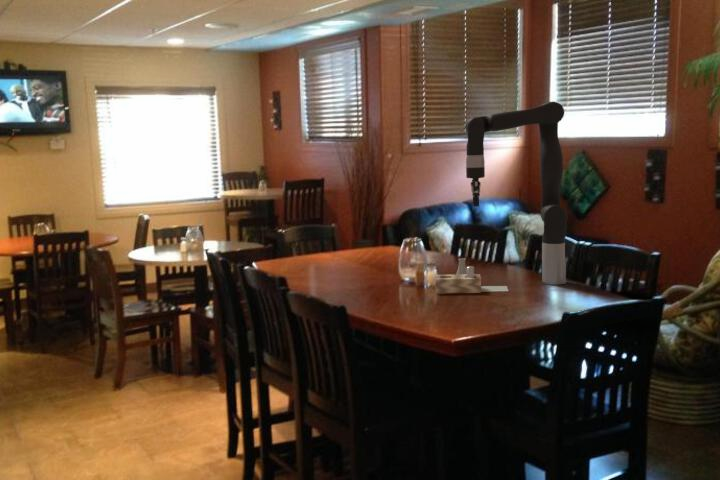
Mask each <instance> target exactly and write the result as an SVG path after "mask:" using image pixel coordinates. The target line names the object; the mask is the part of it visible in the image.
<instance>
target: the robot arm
mask: <svg viewBox="0 0 720 480" xmlns="http://www.w3.org/2000/svg"><path fill="white" fill-rule="evenodd" d="M564 116H565V109H564V106H563V105H562V104H561V103H559V102H557V101H547V102H544V103H542V104H541V105H540V106H536V107H532V108H527V109H520V110H511V111H503V112H499V113H497V112H496V113H492V114H491V115H490V114H489V115H484V116H473V117H470V118H468V119H467V120H466V122H465V125H464V128H465V131H466V132H467V142H466V158H465V168H466V170H465V173H466V175H465V176H466V178H467V179H471V182H470V187H471V189H470V190H471V191H470V192H471V195H472V204H473V206H474V207H480V193H481V182H480V181H479V180H480V179H482V178H485V176H486V175H485V174H486V173H485V172H486V171H485V169H486V168H485V167H486V166H485V162H486V161H485V156H484V154H485V151H484V149H485V147H484V146H485V145H484V142H485V141H484V139H485V133H487V132H498V131H505V130H510V129H515V128H518V127H524V126H528V125H529V126H530V125H537V124H538V128H539V140H540V141H539V171H540V172H539V174H540V185H541V203H540V205H541V207H540V219H541V221H542V222H543V234H542V237H541V261H542V262H541V264H542V265H541V266H542V267H541V268H542V269H541V271H542V273H541V279H542V280H541V283H542V284H544V285H551V286H552V285H555V286H556V285H557V286H558V285H564V284H565V285H566V284H567V277H566V276H567V267H566V265H567V262H566V252H565V251H566V236H567V223H568V222H567V221H568V220H567V211H566V210H565V208H563V207H562V205H561V197H560V196H561V195H560V191H561V185H562V182H563V181H562V180H563V176H564V158H563V152H562V151H563V150H562V148H561V144H560V140H559V139H560V138H559V132H558V129H559V123H560V122H561V121H562V119H564Z"/></svg>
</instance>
